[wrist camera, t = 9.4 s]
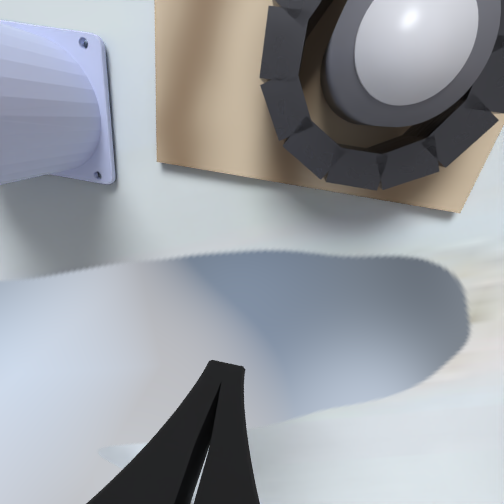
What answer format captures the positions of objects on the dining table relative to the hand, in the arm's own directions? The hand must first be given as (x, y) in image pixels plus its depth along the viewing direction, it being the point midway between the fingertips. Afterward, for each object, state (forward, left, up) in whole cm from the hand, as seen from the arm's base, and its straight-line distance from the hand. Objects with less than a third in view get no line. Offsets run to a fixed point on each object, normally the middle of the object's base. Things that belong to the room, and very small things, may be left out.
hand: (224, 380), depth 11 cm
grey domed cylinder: (+4, +12, -9) cm, 16 cm away
